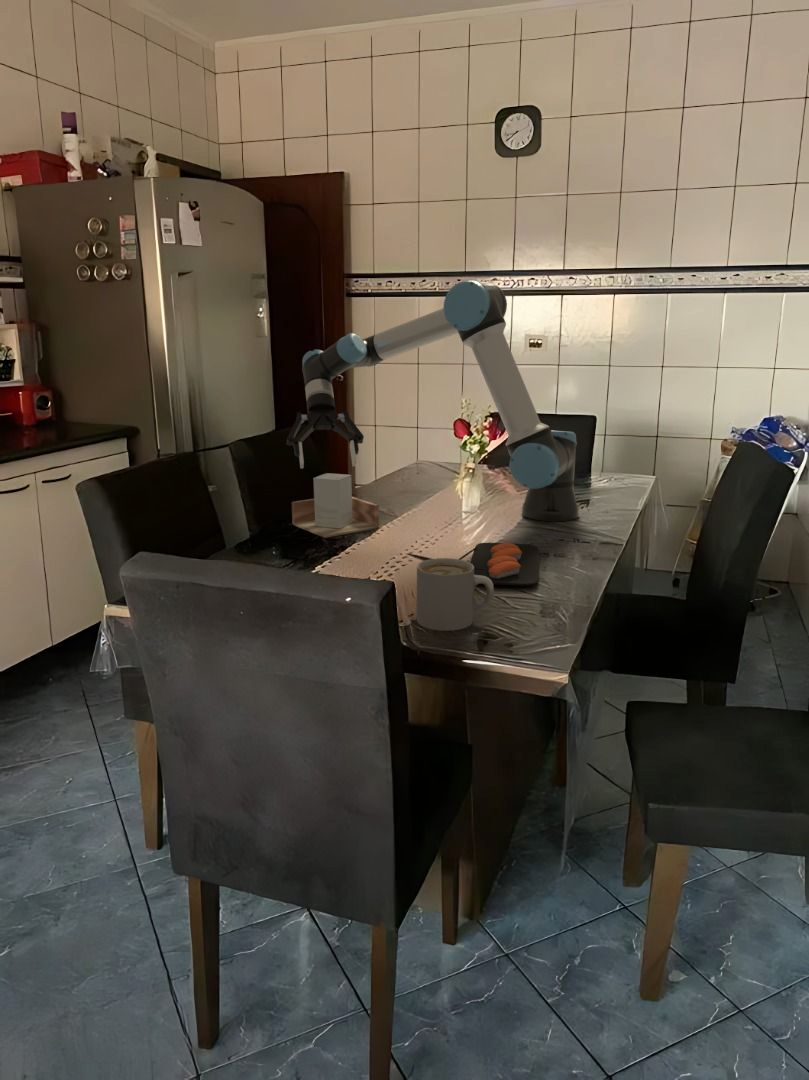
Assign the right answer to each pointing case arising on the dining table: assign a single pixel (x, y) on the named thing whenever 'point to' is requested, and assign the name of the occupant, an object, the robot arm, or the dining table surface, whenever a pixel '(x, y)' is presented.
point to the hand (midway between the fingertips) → (328, 464)
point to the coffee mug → (449, 594)
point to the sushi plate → (504, 563)
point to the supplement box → (333, 500)
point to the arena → (362, 519)
